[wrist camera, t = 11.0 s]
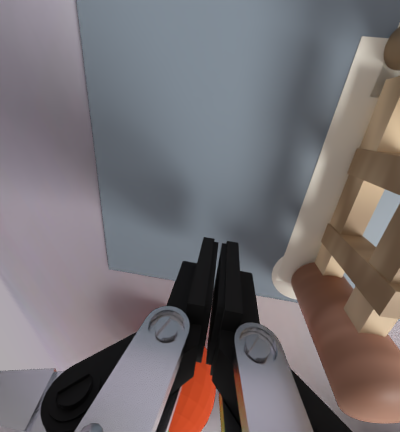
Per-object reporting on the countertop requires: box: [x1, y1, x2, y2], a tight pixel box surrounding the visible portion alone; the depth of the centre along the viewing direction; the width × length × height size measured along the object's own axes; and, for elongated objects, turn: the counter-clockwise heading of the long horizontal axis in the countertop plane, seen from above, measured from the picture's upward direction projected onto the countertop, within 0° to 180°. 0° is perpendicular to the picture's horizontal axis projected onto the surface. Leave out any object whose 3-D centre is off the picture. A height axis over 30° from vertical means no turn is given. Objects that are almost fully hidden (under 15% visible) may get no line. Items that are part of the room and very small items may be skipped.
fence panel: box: [291, 76, 400, 423], centre depth 8 cm, size 12×3×6 cm, turn 176°
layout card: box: [76, 0, 400, 321], centre depth 10 cm, size 28×21×1 cm
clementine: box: [168, 346, 216, 432], centre depth 15 cm, size 8×7×7 cm
